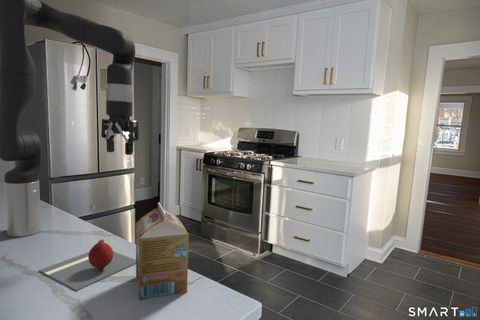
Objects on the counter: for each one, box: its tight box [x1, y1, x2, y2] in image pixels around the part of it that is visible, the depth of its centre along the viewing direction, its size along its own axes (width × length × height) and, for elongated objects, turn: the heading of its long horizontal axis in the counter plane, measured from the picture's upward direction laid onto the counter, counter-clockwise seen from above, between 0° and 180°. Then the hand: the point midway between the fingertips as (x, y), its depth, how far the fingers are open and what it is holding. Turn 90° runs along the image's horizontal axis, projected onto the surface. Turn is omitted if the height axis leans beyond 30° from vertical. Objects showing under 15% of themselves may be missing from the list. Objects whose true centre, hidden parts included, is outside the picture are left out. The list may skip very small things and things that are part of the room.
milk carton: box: [135, 201, 190, 301], centre depth 74 cm, size 11×11×19 cm
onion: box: [88, 238, 114, 270], centre depth 80 cm, size 6×6×8 cm
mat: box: [38, 250, 136, 292], centre depth 83 cm, size 16×18×1 cm
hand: (119, 153), depth 97 cm, fingers open, 8 cm apart
